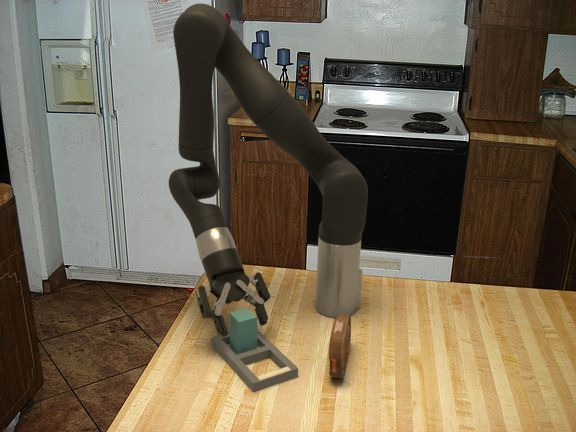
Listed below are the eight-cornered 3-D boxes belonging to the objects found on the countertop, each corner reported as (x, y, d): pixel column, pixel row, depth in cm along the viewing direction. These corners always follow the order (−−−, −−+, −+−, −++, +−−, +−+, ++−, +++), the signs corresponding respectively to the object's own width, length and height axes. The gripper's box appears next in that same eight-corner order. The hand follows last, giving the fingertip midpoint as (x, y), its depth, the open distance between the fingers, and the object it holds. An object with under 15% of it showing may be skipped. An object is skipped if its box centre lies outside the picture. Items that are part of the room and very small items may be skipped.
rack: (252, 332, 132) (253, 324, 131) (297, 376, 118) (298, 367, 117) (211, 344, 127) (211, 336, 127) (253, 391, 113) (253, 383, 113)
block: (247, 342, 128) (247, 307, 126) (257, 352, 125) (257, 316, 122) (229, 347, 127) (229, 312, 124) (239, 357, 123) (239, 322, 120)
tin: (342, 388, 115) (345, 348, 112) (325, 385, 116) (327, 346, 113) (351, 343, 129) (354, 307, 126) (335, 341, 130) (338, 305, 127)
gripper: (191, 254, 122) (217, 333, 117) (256, 240, 129) (283, 315, 124) (181, 268, 128) (206, 344, 123) (244, 254, 135) (269, 326, 130)
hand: (245, 329), depth 123 cm, fingers open, 8 cm apart
